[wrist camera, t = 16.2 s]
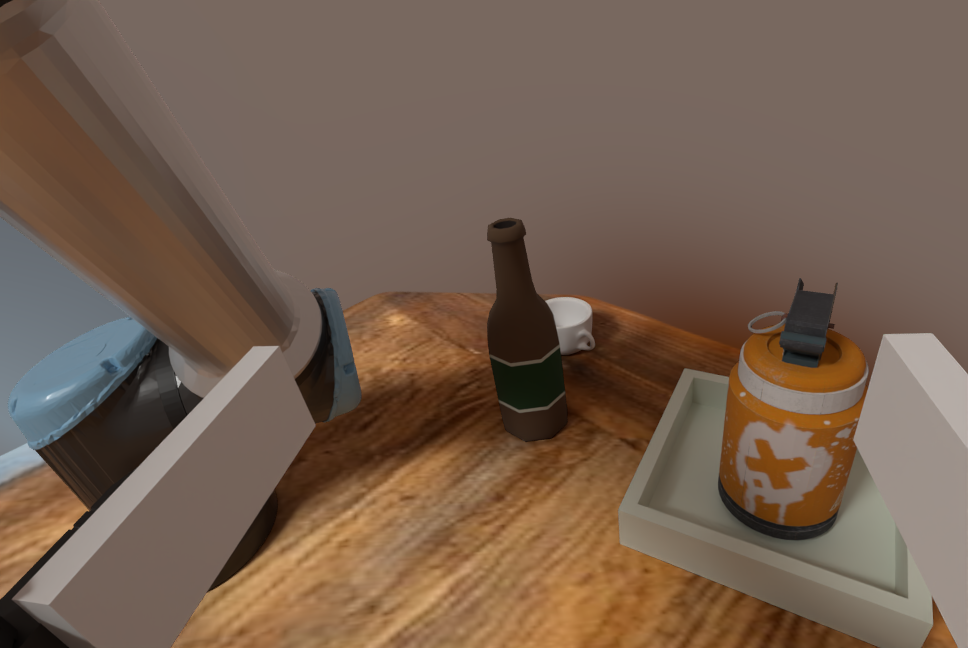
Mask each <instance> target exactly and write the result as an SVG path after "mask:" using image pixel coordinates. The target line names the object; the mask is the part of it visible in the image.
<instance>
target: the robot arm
mask: <svg viewBox="0 0 968 648" xmlns="http://www.w3.org/2000/svg"><path fill="white" fill-rule="evenodd" d="M0 217H1V218H2V219H3V220H5V221H6V222H7V223H9V224H10V225H11V226H13V227H14V228H15V229H17V230H18V231H19V232H20V233H22V234H23V235H24V236H26V237H27V238H28V239H30V240H31V241H32V242H34V243H35V244H36V245H37V246H39V247H40V248H41V249H43V250H44V251H45V252H47V253H48V254H49V255H50V256H52V257H53V258H54V259H56V260H57V261H58V262H59V263H61V264H62V265H63V266H65V267H66V268H67V269H69V270H70V271H71V272H72V273H74V274H75V275H76V276H78V277H79V278H80V279H82V280H83V281H84V282H85V283H87V284H88V285H89V286H91V287H92V288H93V289H95V290H96V291H97V292H98V293H100V294H101V295H102V296H104V297H105V298H107V299H108V300H109V301H110V302H112V303H113V304H114V305H115V306H117V307H118V308H119V309H121V310H122V311H123V312H125V313H126V314H127V315H129V316H130V317H126V318H122V319H118V320H115V321H112V322H109V323H107V324H104V325H102V326H99V327H97V328H95V329H93V330H91V331H88V332H87V333H84V334H82V335H81V336H79V337H77V338H75V339H73V340H71V341H70V342H68V343H66V344H65V345H63V346H61V347H60V348H59V349H57V350H55V351H54V352H52V353H51V354H49V355H48V356H47V357H45V358H44V359H42V360H41V361H40V362H39V363H37V364H36V365H35V366H34V367H33V368H31V369H30V370H29V371H28V372H27V373H26V374H25V375H24V376H23V377H22V378H21V379H20V381H19V382H18V383H17V384H16V386H15V387H14V389H13V390H12V392H11V394H10V397H9V401H8V411H9V414H10V416H11V418H12V419H13V420H14V422H15V423H16V425H17V426H18V427H19V429H20V430H21V432H22V433H23V435H24V436H25V437H26V439H27V440H28V445H29V447H30V448H32V449H33V450H35V451H36V452H37V453H38V454H39V455H40V456H41V457H42V458H43V459H44V461H45V462H46V463H47V464H48V465H49V466H50V467H51V468H52V469H53V471H54V472H55V473H56V474H57V475H58V476H59V477H60V478H61V480H62V481H63V482H64V483H65V484H66V485H67V486H68V487H69V488H70V490H71V491H72V492H73V493H74V494H75V495H76V496H77V497H78V498H79V500H80V501H81V502H82V503H83V504H84V505H85V506H86V507H87V509H88V510H89V512H88V511H86V512H85V514H84V515H83V516H82V517H81V518H80V519H79V520H78V521H77V522H76V523H75V524H74V525H73V526H74V528H73V529H72V530H68V531H67V532H66V533H65V534H64V535H63V536H62V537H61V538H60V539H59V540H58V541H57V542H56V543H55V544H54V545H53V546H52V547H51V548H50V549H49V550H48V551H47V553H46V554H45V555H44V556H43V557H42V558H41V559H40V560H39V561H38V562H37V563H36V564H35V565H34V566H33V567H32V568H31V569H30V570H29V571H28V572H27V573H26V574H25V575H24V576H23V577H22V578H21V579H20V580H19V581H18V582H17V583H16V584H15V585H14V586H13V587H12V588H11V589H10V591H9V592H8V593H7V594H6V595H5V596H4V597H3V598H1V599H0V648H170V647H171V646H172V644H173V643H174V641H175V640H176V638H177V637H178V635H179V634H180V632H181V631H182V629H183V628H184V626H185V625H186V623H187V622H188V620H189V618H190V617H191V615H192V614H193V612H194V611H195V609H196V608H197V606H198V605H199V603H200V602H201V600H202V599H203V597H204V596H205V594H206V593H207V591H208V590H210V589H212V588H214V587H215V586H217V585H219V584H220V583H222V582H223V581H225V580H226V579H227V578H229V577H230V576H232V575H233V574H234V573H235V572H237V571H238V570H239V569H240V568H241V567H242V566H243V565H244V564H245V563H246V562H247V561H248V560H249V559H250V558H251V557H252V556H253V555H254V554H255V553H256V552H257V550H258V549H259V548H260V546H261V545H262V544H263V542H264V541H265V539H266V538H267V536H268V534H269V532H270V530H271V528H272V526H273V524H274V521H275V518H276V514H277V496H276V493H275V491H274V489H275V487H276V486H277V484H278V483H279V481H280V480H281V478H282V477H283V475H284V473H285V472H286V470H287V469H288V467H289V466H290V464H291V463H292V461H293V460H294V458H295V457H296V455H297V454H298V452H299V451H300V449H301V448H302V446H303V444H304V443H305V441H306V440H307V438H308V437H309V435H310V434H311V432H312V431H313V429H314V428H315V426H316V425H315V424H316V423H319V422H328V421H330V420H332V419H334V417H336V416H339V415H342V414H344V413H347V412H350V411H352V410H354V409H355V408H356V407H357V406H358V405H359V403H360V401H361V388H360V384H359V379H358V375H357V371H356V367H355V363H354V358H353V353H352V348H351V344H350V340H349V336H348V332H347V328H346V323H345V319H344V315H343V312H342V308H341V304H340V300H339V297H338V294H337V292H336V291H335V290H333V289H331V288H325V289H319V288H315V289H312V290H311V291H310V290H309V288H307V286H306V285H305V284H304V283H302V282H301V281H300V280H298V279H297V278H295V277H293V276H291V275H289V274H286V273H284V272H281V271H277V270H274V269H273V268H272V266H271V265H270V263H269V262H268V260H267V258H266V257H265V256H264V254H263V252H262V251H261V249H260V248H259V246H258V245H257V243H256V242H255V240H254V239H253V237H252V236H251V234H250V232H249V231H248V229H247V228H246V226H245V225H244V223H243V222H242V220H241V219H240V217H239V215H238V214H237V212H236V211H235V210H234V208H233V206H232V205H231V203H230V202H229V200H228V199H227V197H226V195H225V194H224V192H223V191H222V189H221V188H220V186H219V185H218V183H217V182H216V180H215V179H214V177H213V176H212V174H211V173H210V171H209V169H208V168H207V166H206V165H205V163H204V162H203V160H202V159H201V157H200V156H199V154H198V152H197V151H196V149H195V148H194V147H193V145H192V143H191V142H190V140H189V139H188V137H187V136H186V134H185V133H184V131H183V130H182V128H181V126H180V125H179V123H178V122H177V120H176V119H175V117H174V116H173V114H172V113H171V111H170V109H169V108H168V107H167V105H166V104H165V102H164V100H163V99H162V97H161V96H160V94H159V93H158V91H157V89H156V88H155V86H154V85H153V83H152V82H151V80H150V79H149V77H148V76H147V74H146V73H145V71H144V69H143V68H142V67H141V65H140V64H139V62H138V60H137V59H136V57H135V56H134V54H133V53H132V51H131V50H130V48H129V46H128V45H127V43H126V42H125V40H124V39H123V37H122V36H121V34H120V33H119V31H118V29H117V28H116V26H115V25H114V23H113V22H112V20H111V19H110V17H109V16H108V14H107V13H106V11H105V9H104V8H103V6H102V5H101V3H100V2H99V0H0ZM853 440H854V442H855V444H856V446H857V448H858V450H859V452H860V454H861V456H862V458H863V460H864V462H865V464H866V466H867V468H868V470H869V472H870V474H871V476H872V478H873V480H874V482H875V484H876V486H877V488H878V490H879V492H880V494H881V496H882V498H883V500H884V502H885V504H886V506H887V508H888V510H889V512H890V514H891V516H892V518H893V520H894V522H895V524H896V526H897V528H898V530H899V532H900V534H901V536H902V538H903V540H904V542H905V544H906V545H907V547H908V549H909V551H910V553H911V555H912V557H913V559H914V561H915V563H916V565H917V567H918V569H919V571H920V573H921V575H922V577H923V579H924V581H925V583H926V585H927V587H928V589H929V591H930V593H931V595H932V597H933V599H934V601H935V603H936V605H937V607H938V609H939V611H940V613H941V615H942V617H943V619H944V621H945V623H946V625H947V627H948V629H949V631H950V633H951V635H952V637H953V639H954V641H955V643H956V645H957V647H958V648H968V374H967V373H966V372H965V370H964V369H963V368H962V367H961V366H960V365H959V364H958V362H957V361H956V360H955V359H954V358H953V357H952V356H951V354H950V353H949V352H948V351H947V350H946V349H945V347H944V346H943V345H942V344H941V343H940V342H939V341H938V340H937V338H936V337H935V336H934V335H933V334H932V333H925V334H884V335H883V338H882V342H881V345H880V349H879V352H878V355H877V359H876V362H875V366H874V369H873V373H872V376H871V380H870V383H869V387H868V390H867V394H866V397H865V400H864V404H863V407H862V411H861V414H860V418H859V421H858V425H857V428H856V432H855V435H854V439H853Z"/></svg>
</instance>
